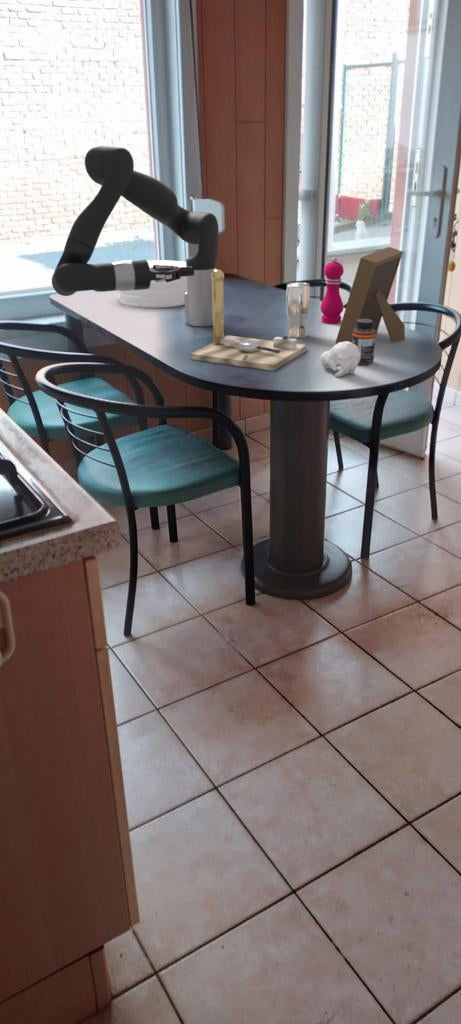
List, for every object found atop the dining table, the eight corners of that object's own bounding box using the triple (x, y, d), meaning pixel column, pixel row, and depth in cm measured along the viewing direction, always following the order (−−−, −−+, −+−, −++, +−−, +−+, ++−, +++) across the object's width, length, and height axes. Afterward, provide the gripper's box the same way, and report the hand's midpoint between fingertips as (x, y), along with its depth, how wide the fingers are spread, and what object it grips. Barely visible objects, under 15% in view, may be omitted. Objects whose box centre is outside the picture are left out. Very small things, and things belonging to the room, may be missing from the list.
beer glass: (310, 333, 235) (312, 282, 228) (305, 339, 229) (307, 287, 222) (288, 332, 237) (289, 281, 230) (282, 337, 231) (283, 285, 224)
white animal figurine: (343, 345, 189) (313, 339, 199) (343, 379, 193) (313, 372, 202) (363, 341, 192) (332, 335, 202) (362, 375, 196) (332, 368, 205)
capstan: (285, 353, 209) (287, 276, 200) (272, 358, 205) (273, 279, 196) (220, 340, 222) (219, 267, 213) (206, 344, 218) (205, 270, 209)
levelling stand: (190, 359, 211) (189, 341, 209) (227, 340, 228) (227, 324, 226) (273, 370, 201) (274, 352, 198) (306, 350, 218) (307, 333, 216)
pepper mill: (341, 324, 244) (345, 258, 235) (318, 323, 246) (321, 258, 236) (343, 319, 251) (347, 255, 241) (321, 318, 252) (323, 254, 243)
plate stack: (211, 296, 285) (211, 264, 280) (166, 311, 264) (164, 276, 259) (151, 289, 299) (149, 258, 294) (103, 302, 278) (100, 269, 273)
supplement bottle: (349, 359, 209) (352, 317, 204) (371, 359, 209) (375, 317, 204) (352, 366, 204) (354, 322, 199) (374, 366, 204) (378, 322, 199)
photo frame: (335, 347, 221) (341, 255, 209) (363, 330, 237) (370, 245, 226) (384, 354, 214) (393, 260, 202) (410, 337, 231) (420, 249, 219)
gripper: (135, 264, 195) (200, 260, 200) (123, 256, 206) (185, 252, 211) (137, 294, 198) (201, 289, 204) (125, 285, 209) (186, 281, 215)
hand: (193, 270), depth 208 cm, fingers closed
